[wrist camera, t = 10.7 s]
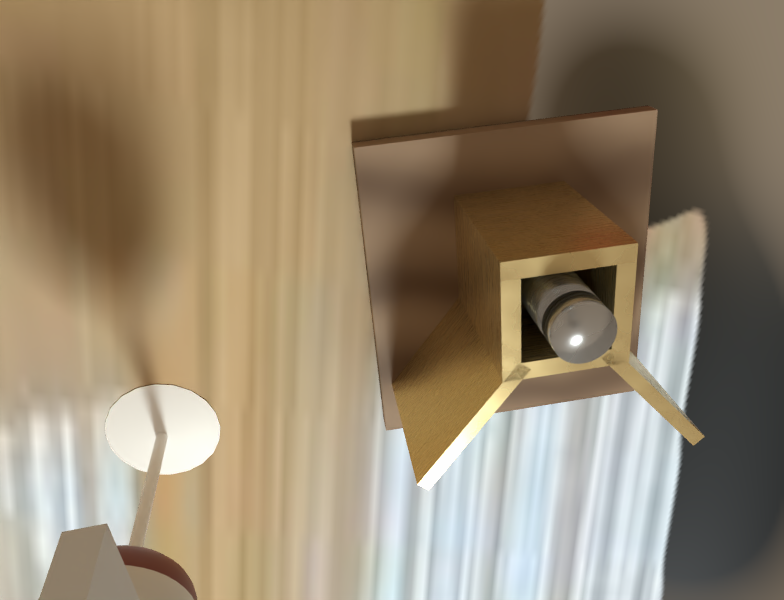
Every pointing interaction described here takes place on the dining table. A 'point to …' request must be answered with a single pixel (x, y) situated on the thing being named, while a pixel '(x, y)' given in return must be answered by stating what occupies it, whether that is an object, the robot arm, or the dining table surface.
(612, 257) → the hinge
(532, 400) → the board
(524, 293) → the pin
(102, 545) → the robot arm
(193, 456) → the wineglass
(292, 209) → the dining table surface
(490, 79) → the dining table surface
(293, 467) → the dining table surface
